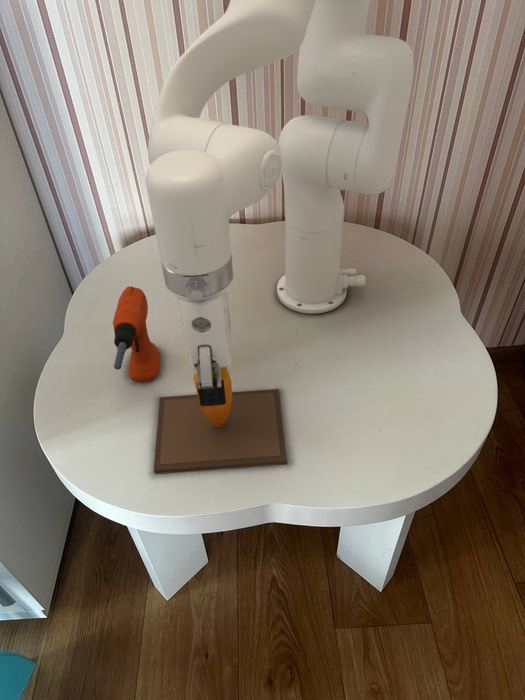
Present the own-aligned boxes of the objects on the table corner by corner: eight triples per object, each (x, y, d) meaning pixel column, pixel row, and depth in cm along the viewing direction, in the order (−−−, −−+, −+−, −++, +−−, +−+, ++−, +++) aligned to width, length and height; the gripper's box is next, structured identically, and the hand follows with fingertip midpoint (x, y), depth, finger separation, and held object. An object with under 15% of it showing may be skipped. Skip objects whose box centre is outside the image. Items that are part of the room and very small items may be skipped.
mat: (278, 392, 86) (278, 388, 85) (286, 464, 77) (286, 460, 76) (160, 400, 86) (159, 396, 85) (154, 473, 76) (153, 469, 76)
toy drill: (116, 435, 79) (92, 351, 70) (133, 354, 94) (115, 275, 85) (151, 433, 79) (132, 348, 70) (162, 352, 94) (148, 273, 85)
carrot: (238, 413, 82) (231, 339, 72) (233, 441, 79) (225, 367, 68) (204, 411, 82) (192, 337, 72) (198, 439, 79) (185, 365, 68)
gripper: (235, 319, 55) (244, 430, 67) (230, 223, 67) (239, 331, 80) (157, 325, 55) (181, 434, 67) (167, 227, 67) (186, 334, 80)
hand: (213, 377), depth 73 cm, fingers open, 7 cm apart
